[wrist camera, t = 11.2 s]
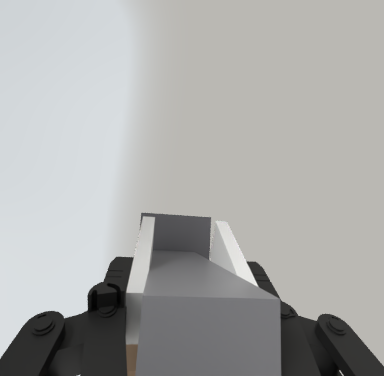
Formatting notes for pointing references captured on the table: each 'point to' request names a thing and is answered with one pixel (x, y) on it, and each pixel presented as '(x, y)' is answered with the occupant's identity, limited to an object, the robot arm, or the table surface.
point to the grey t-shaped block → (202, 310)
